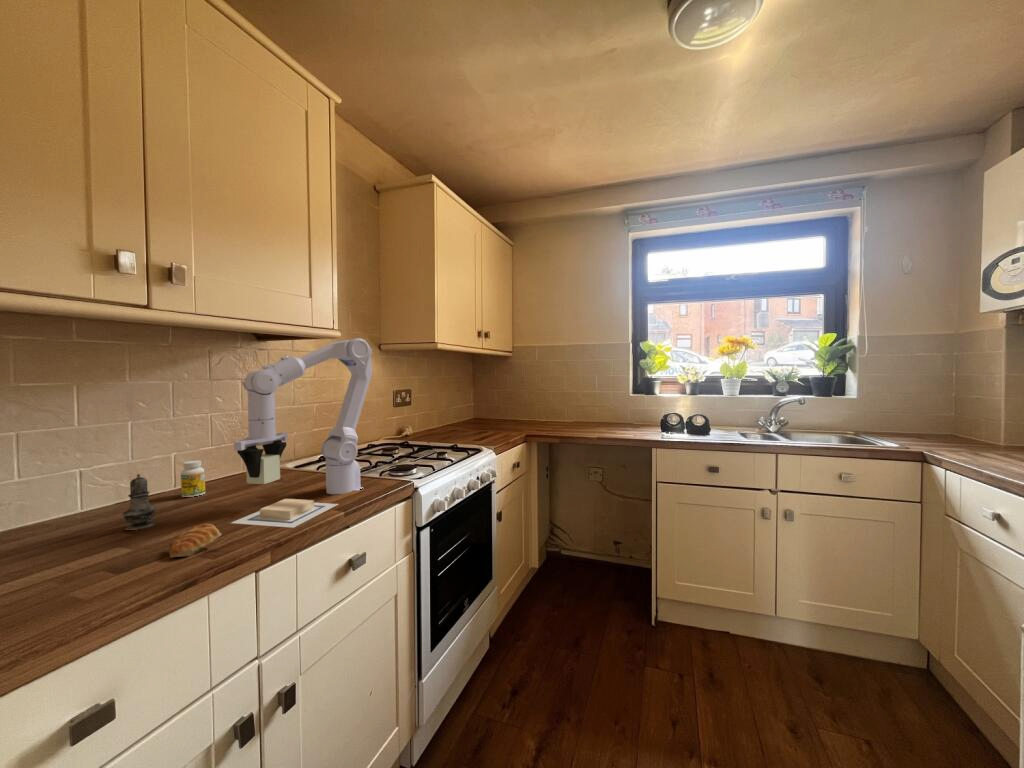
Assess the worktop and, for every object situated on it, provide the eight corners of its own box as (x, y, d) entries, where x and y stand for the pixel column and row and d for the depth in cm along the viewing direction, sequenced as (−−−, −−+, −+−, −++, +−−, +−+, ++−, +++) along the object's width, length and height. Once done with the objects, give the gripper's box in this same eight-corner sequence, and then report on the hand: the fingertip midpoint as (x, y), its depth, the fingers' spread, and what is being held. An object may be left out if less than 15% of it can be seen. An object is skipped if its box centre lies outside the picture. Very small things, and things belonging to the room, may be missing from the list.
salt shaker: (164, 523, 95) (162, 471, 95) (134, 532, 89) (132, 477, 89) (145, 520, 97) (143, 470, 96) (115, 530, 91) (113, 476, 91)
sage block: (263, 477, 104) (262, 454, 104) (280, 478, 103) (279, 454, 103) (246, 483, 100) (245, 458, 99) (264, 484, 99) (263, 459, 98)
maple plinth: (285, 506, 103) (285, 498, 103) (314, 508, 101) (313, 500, 101) (260, 517, 95) (259, 509, 95) (290, 519, 93) (290, 511, 93)
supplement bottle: (209, 492, 120) (207, 459, 120) (199, 497, 115) (198, 463, 114) (187, 493, 119) (186, 460, 118) (177, 499, 114) (176, 464, 113)
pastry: (197, 559, 77) (196, 538, 76) (156, 562, 76) (155, 542, 75) (224, 539, 86) (223, 521, 86) (188, 542, 85) (187, 523, 85)
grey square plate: (283, 504, 107) (283, 500, 107) (338, 507, 104) (338, 503, 104) (230, 527, 92) (230, 522, 92) (293, 532, 88) (293, 527, 88)
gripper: (271, 415, 109) (272, 467, 109) (221, 422, 95) (223, 481, 95) (294, 416, 108) (295, 467, 108) (247, 423, 93) (249, 482, 94)
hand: (263, 474), depth 101 cm, fingers closed on sage block, 5 cm apart
